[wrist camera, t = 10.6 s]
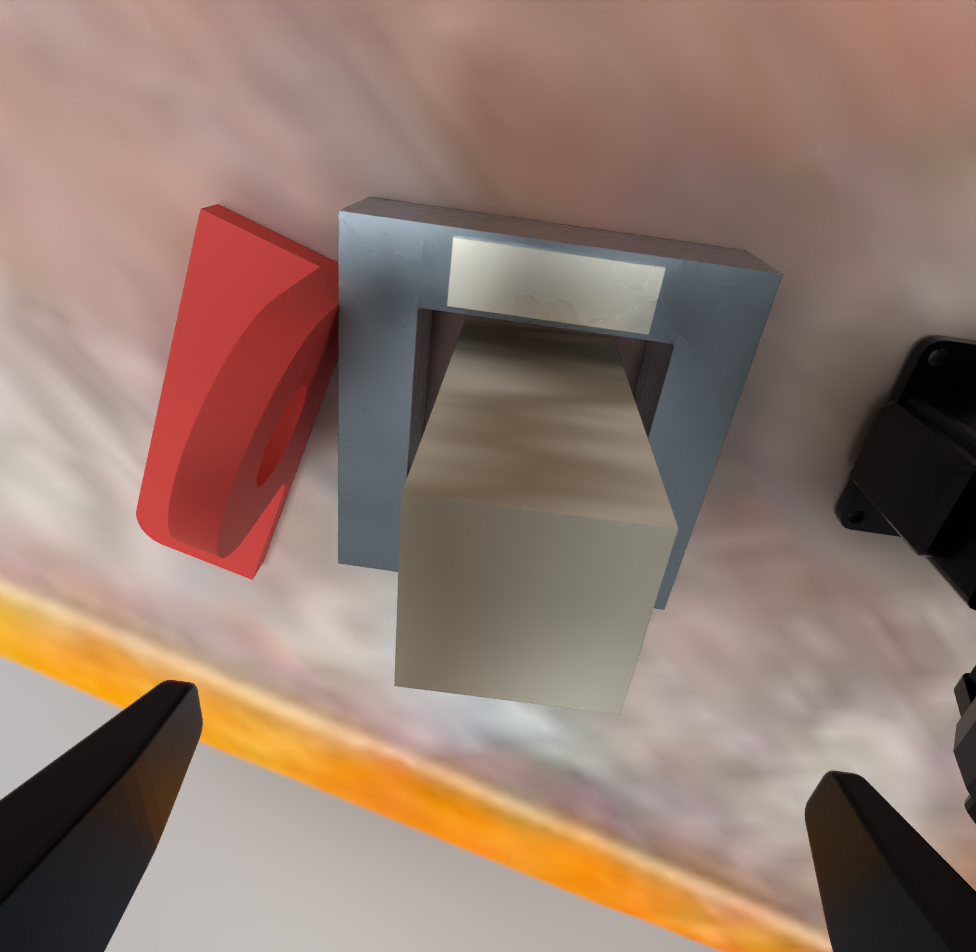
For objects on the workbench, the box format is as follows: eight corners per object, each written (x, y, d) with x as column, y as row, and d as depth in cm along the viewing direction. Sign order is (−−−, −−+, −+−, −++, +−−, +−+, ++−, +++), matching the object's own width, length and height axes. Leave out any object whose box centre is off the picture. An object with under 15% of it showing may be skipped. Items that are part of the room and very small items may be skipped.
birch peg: (613, 338, 19) (678, 528, 10) (586, 468, 21) (620, 714, 12) (465, 320, 19) (401, 494, 10) (454, 451, 21) (394, 685, 12)
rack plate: (746, 250, 17) (785, 275, 14) (649, 552, 22) (665, 613, 20) (369, 197, 17) (336, 211, 14) (361, 512, 22) (336, 567, 20)
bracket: (219, 203, 18) (17, 258, 11) (367, 276, 18) (267, 370, 12) (148, 514, 23) (-13, 679, 17) (264, 560, 24) (155, 736, 17)
